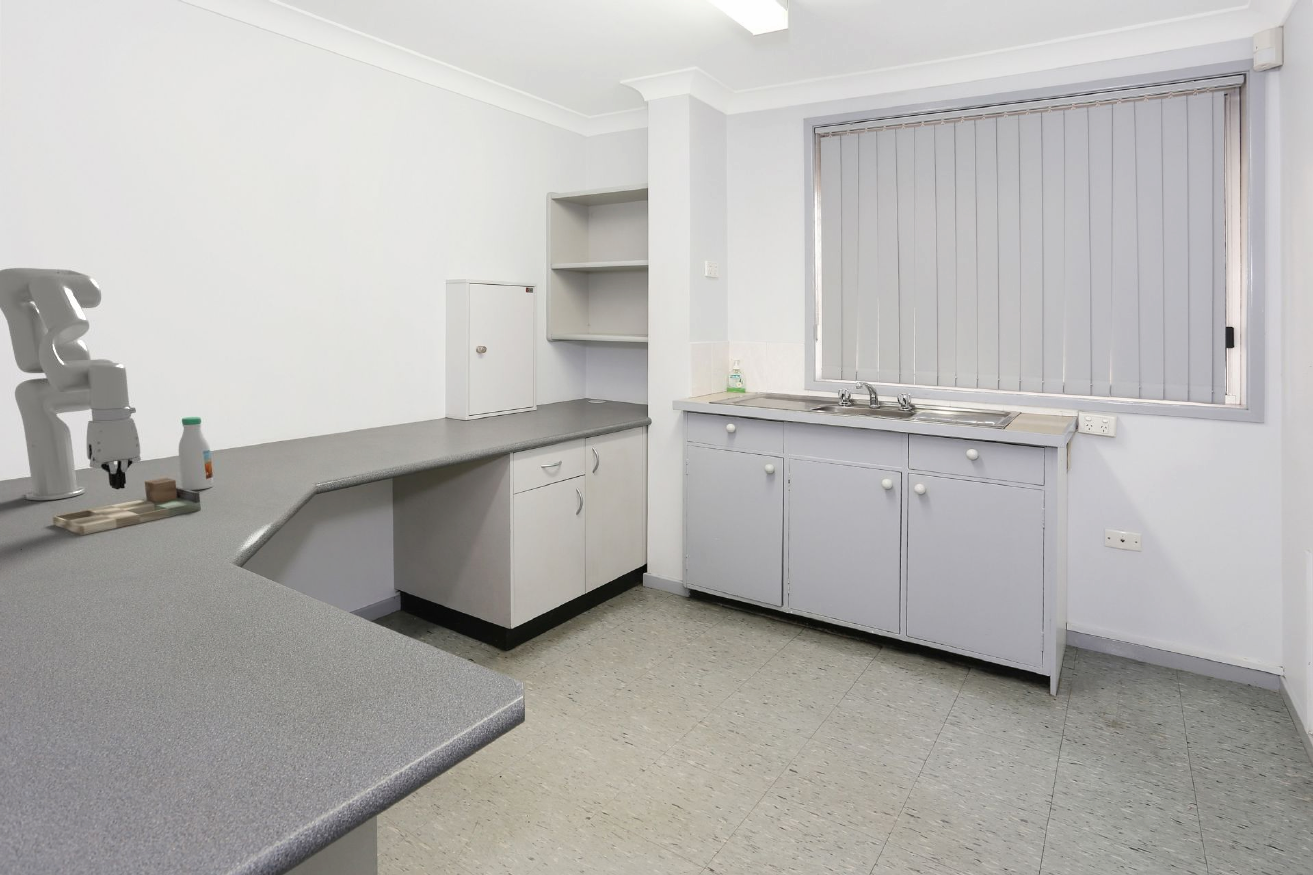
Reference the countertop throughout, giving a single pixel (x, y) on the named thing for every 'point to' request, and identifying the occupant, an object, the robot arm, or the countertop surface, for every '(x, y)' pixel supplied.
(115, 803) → the countertop surface
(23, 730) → the countertop surface
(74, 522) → the trap board
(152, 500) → the walnut block
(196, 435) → the milk bottle
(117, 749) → the countertop surface
